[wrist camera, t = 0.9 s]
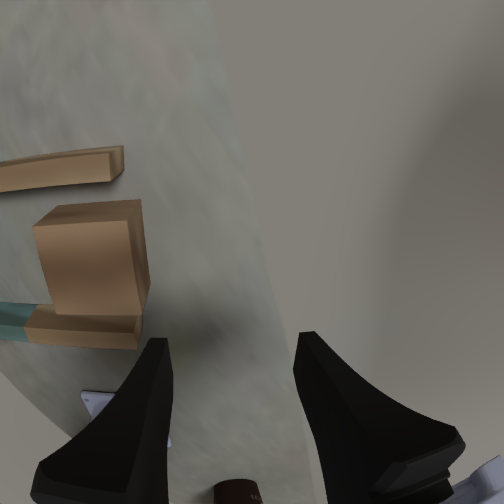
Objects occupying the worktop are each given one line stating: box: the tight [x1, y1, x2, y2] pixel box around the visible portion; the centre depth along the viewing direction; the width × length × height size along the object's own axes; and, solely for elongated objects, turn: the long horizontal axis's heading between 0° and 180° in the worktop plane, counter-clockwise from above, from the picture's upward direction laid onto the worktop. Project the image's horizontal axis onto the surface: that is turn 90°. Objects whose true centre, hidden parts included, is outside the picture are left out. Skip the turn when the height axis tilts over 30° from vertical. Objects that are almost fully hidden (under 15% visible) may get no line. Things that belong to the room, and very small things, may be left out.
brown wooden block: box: [32, 199, 151, 315], centre depth 18 cm, size 6×6×4 cm
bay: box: [0, 146, 143, 350], centre depth 16 cm, size 17×14×6 cm
